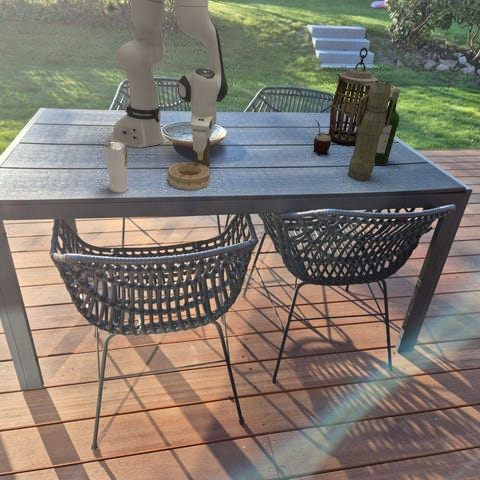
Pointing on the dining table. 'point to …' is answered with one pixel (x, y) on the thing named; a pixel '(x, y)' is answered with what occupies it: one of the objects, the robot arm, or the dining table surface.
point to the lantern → (349, 103)
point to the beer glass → (117, 166)
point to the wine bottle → (388, 133)
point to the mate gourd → (321, 142)
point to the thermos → (370, 129)
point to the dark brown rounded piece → (204, 156)
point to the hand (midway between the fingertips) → (202, 154)
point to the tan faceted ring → (189, 176)
